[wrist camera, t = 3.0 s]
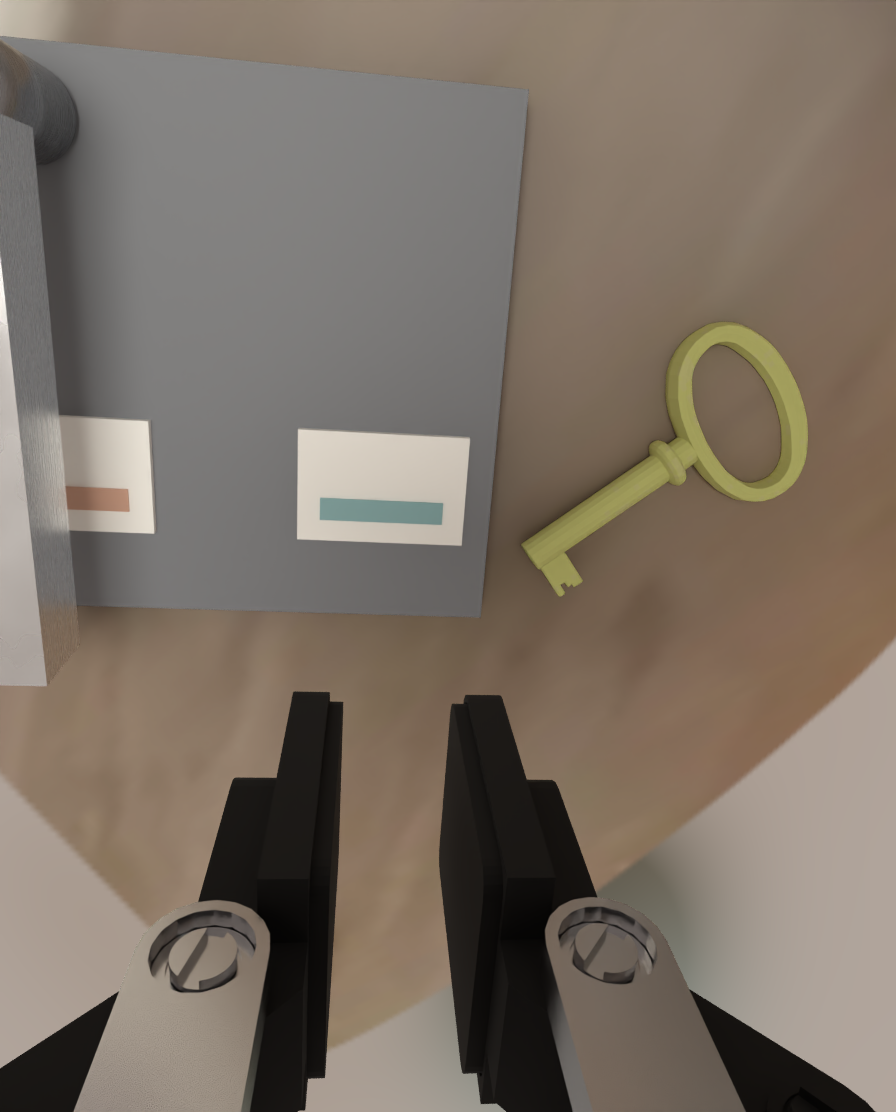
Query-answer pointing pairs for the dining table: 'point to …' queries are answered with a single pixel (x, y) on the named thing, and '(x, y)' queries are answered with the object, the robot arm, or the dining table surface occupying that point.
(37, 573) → the swing arm
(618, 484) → the key
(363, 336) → the label panel
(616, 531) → the dining table surface
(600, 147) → the dining table surface
